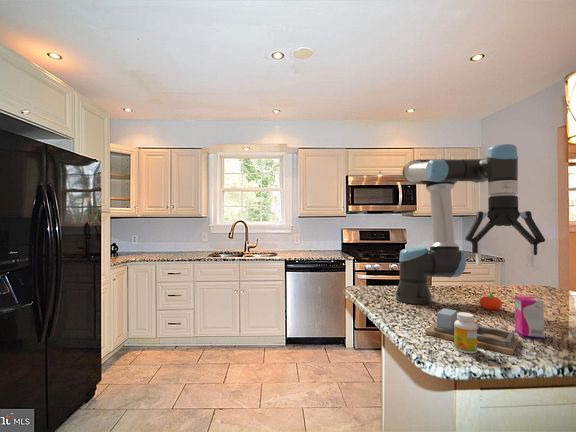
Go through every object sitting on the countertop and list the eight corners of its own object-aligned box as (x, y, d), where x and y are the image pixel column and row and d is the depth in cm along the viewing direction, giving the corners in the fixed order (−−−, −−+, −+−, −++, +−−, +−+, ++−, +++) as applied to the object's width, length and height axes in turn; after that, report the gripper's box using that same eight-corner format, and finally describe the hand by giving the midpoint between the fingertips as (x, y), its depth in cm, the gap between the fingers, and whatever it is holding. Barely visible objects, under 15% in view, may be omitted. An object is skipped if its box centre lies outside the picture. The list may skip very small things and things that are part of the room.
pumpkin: (476, 307, 127) (475, 291, 128) (497, 309, 126) (496, 292, 126) (483, 310, 120) (482, 293, 121) (506, 311, 119) (505, 294, 120)
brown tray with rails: (425, 334, 95) (425, 325, 96) (438, 324, 105) (438, 316, 105) (512, 355, 81) (512, 344, 81) (518, 341, 90) (518, 331, 90)
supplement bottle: (450, 346, 87) (449, 311, 87) (468, 345, 87) (467, 311, 87) (462, 354, 81) (462, 317, 81) (481, 353, 82) (481, 317, 82)
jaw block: (437, 328, 96) (436, 312, 96) (443, 323, 101) (443, 308, 101) (451, 332, 93) (450, 315, 93) (457, 326, 99) (456, 310, 99)
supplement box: (536, 332, 97) (536, 296, 97) (545, 339, 92) (544, 301, 92) (514, 330, 99) (514, 295, 99) (521, 337, 93) (521, 299, 94)
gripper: (460, 195, 94) (460, 264, 94) (558, 193, 87) (560, 268, 86) (454, 197, 101) (455, 261, 101) (545, 195, 94) (546, 265, 93)
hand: (503, 265), depth 94 cm, fingers open, 13 cm apart
